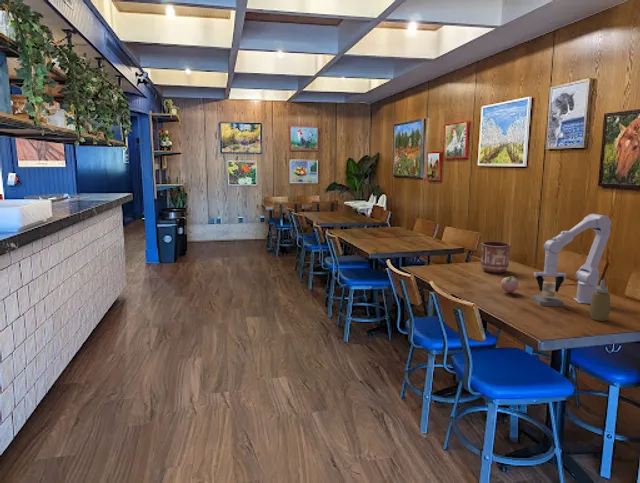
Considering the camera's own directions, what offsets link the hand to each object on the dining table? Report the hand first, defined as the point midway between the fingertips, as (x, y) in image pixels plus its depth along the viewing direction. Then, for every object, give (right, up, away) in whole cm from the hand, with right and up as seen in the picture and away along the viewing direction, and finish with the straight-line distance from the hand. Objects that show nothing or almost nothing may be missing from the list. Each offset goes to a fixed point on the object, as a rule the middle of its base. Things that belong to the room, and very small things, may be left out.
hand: (548, 291), depth 229 cm
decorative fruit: (-13, -3, +17) cm, 21 cm away
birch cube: (0, -2, 0) cm, 2 cm away
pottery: (-3, +5, +65) cm, 65 cm away
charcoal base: (0, -6, +1) cm, 6 cm away
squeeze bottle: (+11, -10, -23) cm, 28 cm away
